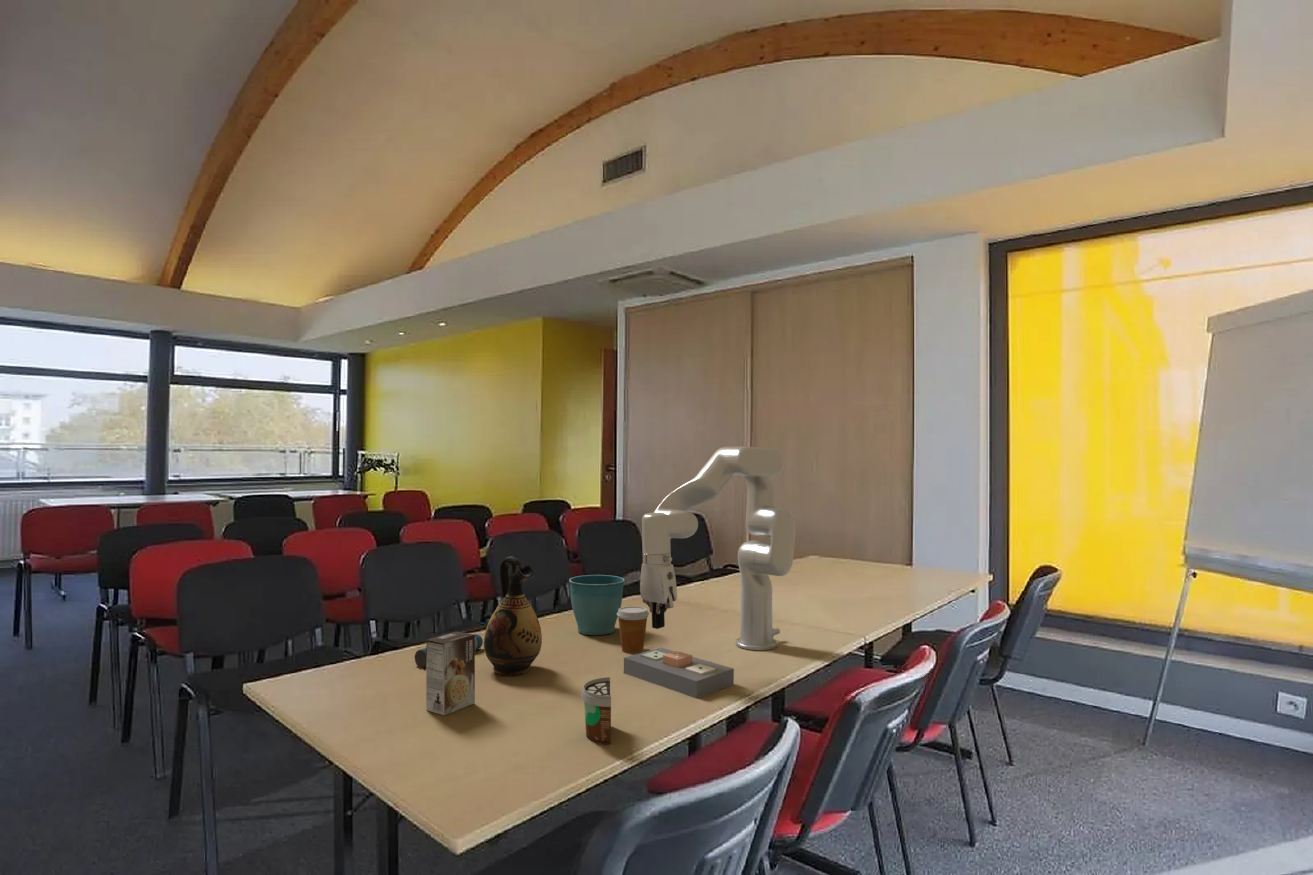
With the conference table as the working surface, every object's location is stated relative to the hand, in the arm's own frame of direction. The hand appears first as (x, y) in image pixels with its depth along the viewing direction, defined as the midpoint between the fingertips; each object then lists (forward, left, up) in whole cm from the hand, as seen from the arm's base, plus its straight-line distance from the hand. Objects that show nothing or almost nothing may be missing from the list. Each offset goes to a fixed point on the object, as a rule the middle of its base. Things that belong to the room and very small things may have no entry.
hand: (658, 627), depth 185 cm
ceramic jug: (+28, -28, -12) cm, 41 cm away
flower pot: (-14, -43, -12) cm, 47 cm away
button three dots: (+1, +8, -9) cm, 12 cm away
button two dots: (+1, 0, -11) cm, 11 cm away
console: (+1, +8, -12) cm, 14 cm away
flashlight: (+34, -49, -12) cm, 61 cm away
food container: (+39, +21, -12) cm, 46 cm away
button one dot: (+1, +16, -11) cm, 19 cm away
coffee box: (+53, -14, -12) cm, 56 cm away
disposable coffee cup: (-8, -19, -12) cm, 24 cm away
